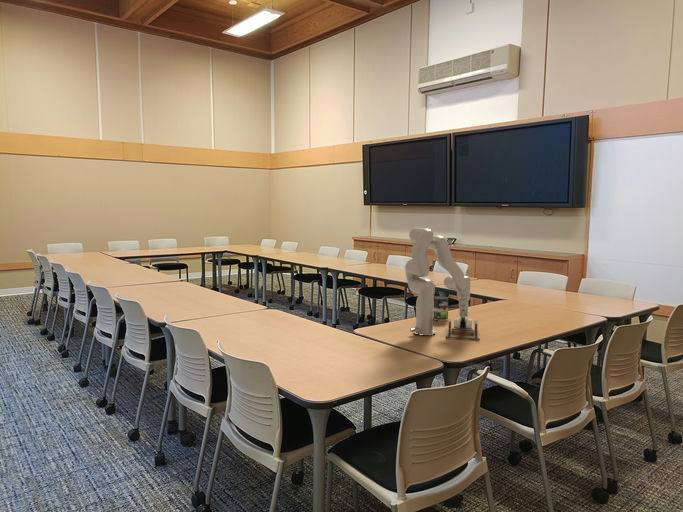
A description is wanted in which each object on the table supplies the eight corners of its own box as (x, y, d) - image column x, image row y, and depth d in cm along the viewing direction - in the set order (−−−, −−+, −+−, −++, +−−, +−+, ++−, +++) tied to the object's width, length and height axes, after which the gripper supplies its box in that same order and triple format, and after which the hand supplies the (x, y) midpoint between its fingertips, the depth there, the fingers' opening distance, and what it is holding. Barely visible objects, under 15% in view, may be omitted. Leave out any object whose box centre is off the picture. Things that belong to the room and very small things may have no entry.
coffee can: (451, 320, 303) (451, 298, 301) (437, 321, 299) (438, 299, 297) (442, 316, 312) (442, 295, 310) (428, 318, 308) (429, 296, 307)
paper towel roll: (454, 328, 282) (454, 319, 282) (454, 326, 288) (454, 317, 287) (471, 329, 280) (472, 320, 279) (471, 327, 285) (471, 318, 285)
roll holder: (445, 338, 262) (446, 324, 261) (446, 330, 277) (446, 317, 276) (479, 340, 258) (480, 325, 257) (478, 332, 273) (479, 318, 272)
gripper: (470, 300, 273) (469, 330, 275) (469, 294, 289) (469, 323, 291) (456, 299, 274) (456, 330, 276) (457, 293, 291) (456, 322, 293)
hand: (462, 326), depth 284 cm, fingers closed on paper towel roll, 5 cm apart
